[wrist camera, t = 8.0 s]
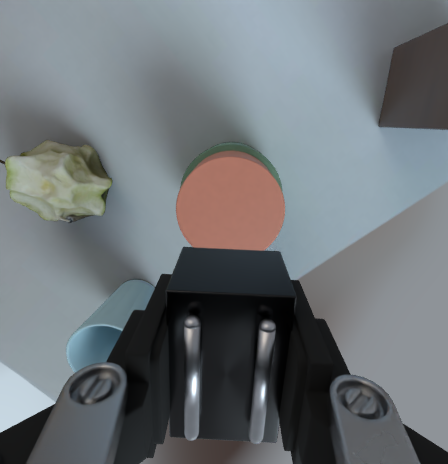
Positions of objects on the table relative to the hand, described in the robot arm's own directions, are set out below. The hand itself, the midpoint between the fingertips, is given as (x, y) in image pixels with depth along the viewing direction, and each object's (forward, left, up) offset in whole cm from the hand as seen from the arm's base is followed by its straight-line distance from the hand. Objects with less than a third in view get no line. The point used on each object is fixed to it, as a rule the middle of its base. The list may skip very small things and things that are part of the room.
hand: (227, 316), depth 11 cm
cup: (+11, +15, -24) cm, 31 cm away
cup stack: (0, 0, -24) cm, 24 cm away
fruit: (+17, 0, -24) cm, 30 cm away
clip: (0, 0, 0) cm, 0 cm away
